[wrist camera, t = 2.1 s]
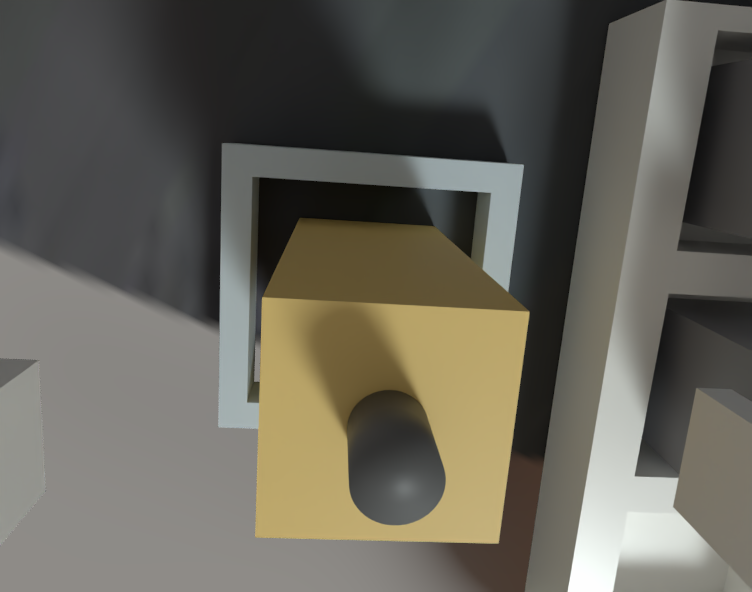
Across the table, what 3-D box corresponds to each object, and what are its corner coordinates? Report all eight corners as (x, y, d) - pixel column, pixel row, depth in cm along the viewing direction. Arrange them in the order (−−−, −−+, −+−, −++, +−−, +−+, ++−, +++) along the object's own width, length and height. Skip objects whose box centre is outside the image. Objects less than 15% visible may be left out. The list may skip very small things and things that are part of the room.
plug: (299, 217, 23) (246, 329, 10) (434, 226, 23) (567, 345, 10) (294, 346, 24) (240, 609, 11) (422, 353, 25) (526, 614, 11)
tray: (231, 142, 22) (221, 143, 20) (508, 162, 23) (523, 164, 21) (227, 404, 25) (218, 427, 23) (478, 414, 25) (490, 437, 23)
